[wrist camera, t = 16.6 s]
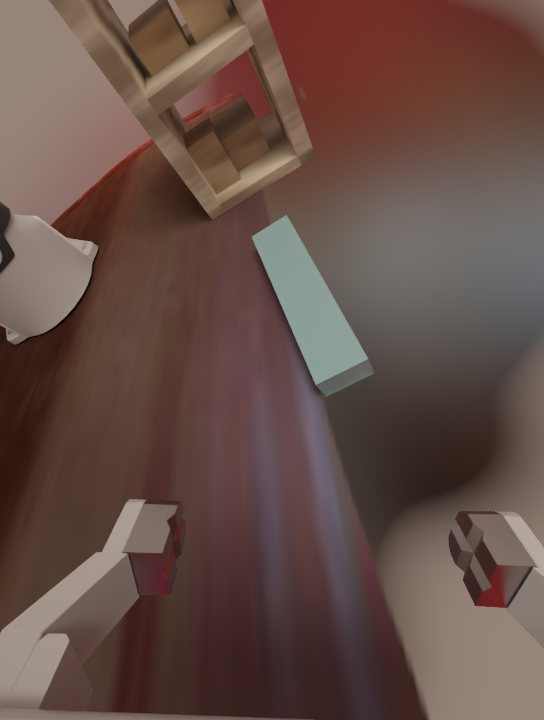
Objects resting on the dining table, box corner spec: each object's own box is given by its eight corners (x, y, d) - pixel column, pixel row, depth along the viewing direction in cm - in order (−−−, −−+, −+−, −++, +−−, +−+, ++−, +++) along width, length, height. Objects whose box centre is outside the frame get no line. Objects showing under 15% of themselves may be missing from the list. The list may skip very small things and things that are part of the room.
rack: (200, 171, 48) (10, -112, 27) (288, 113, 45) (148, -261, 24) (212, 220, 41) (-27, -102, 20) (315, 156, 38) (156, -306, 17)
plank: (262, 253, 36) (251, 236, 34) (295, 233, 35) (286, 215, 33) (325, 396, 26) (315, 384, 24) (374, 373, 25) (368, 358, 23)
